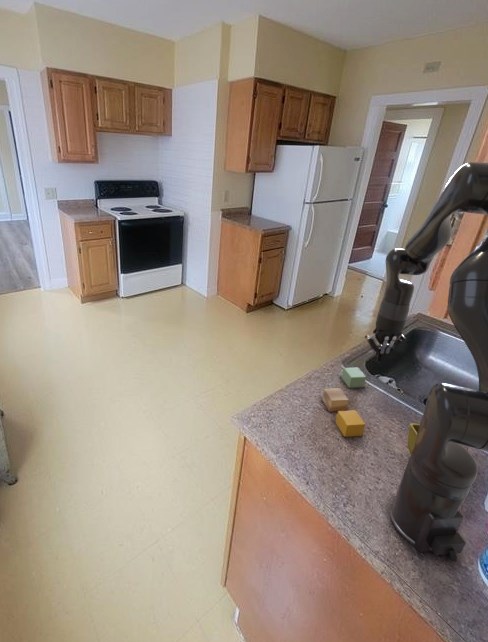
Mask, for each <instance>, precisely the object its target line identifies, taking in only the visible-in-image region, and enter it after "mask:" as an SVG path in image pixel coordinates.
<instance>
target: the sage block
mask: <svg viewBox="0 0 488 642" xmlns="http://www.w3.org/2000/svg"><path fill="white" fill-rule="evenodd" d="M341 379H342V381H343V382H344V384H346V387H348V388H349V389H350V388H352V389H353V388H364V387H365V383H366V379H367V376H366V375H365V374H364V373H363V371H362V370H361V369H360V368H359V367H343V368H342V374H341Z"/></svg>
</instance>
